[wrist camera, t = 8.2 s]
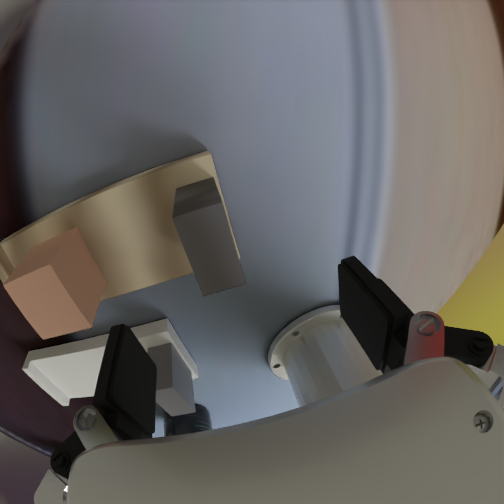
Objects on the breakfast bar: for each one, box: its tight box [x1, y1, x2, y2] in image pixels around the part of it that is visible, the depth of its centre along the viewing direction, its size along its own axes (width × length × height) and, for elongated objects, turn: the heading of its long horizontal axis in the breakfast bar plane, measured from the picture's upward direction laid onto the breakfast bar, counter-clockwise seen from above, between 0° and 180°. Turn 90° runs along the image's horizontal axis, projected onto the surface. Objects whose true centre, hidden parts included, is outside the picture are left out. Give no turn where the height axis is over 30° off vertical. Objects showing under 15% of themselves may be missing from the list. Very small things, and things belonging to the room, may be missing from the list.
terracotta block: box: [3, 227, 107, 340], centre depth 15 cm, size 5×5×5 cm
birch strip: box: [0, 150, 246, 301], centre depth 16 cm, size 20×8×7 cm, turn 103°
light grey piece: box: [22, 318, 199, 416], centre depth 22 cm, size 20×8×7 cm, turn 103°
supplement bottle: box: [163, 404, 212, 437], centre depth 29 cm, size 7×7×12 cm
